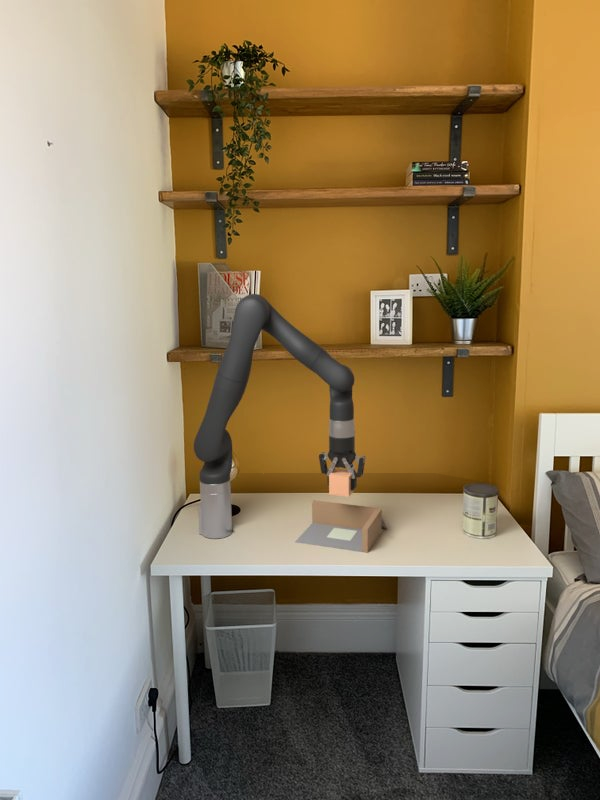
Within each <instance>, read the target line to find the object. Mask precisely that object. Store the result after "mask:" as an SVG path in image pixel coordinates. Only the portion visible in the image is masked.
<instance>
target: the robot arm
mask: <svg viewBox="0 0 600 800" xmlns="http://www.w3.org/2000/svg"><path fill="white" fill-rule="evenodd" d="M261 331H264V332H265V333H266V334H267V335H268V334H269V335H270V336H271V337H273V339H275V340H276V341H277V342H278V343H279V344H281V346H282V347H283V348H284V349H285V350H286V351H287V352H288V353H289V354H290V355H291V356H292V357H293V358H294V359H295V360H296V361H298V362H299V363H300V364H302V365H303V366H304V367H306V368H307V369H308V370H310V371H311V372H313V373H315V375H317V376H318V377H319V378H320V379H321V380H322V381H323V382H325V383H326V384H327V385H328V387H329V397H330V399H329V400H330V401H329V423H328V446H329V447H328V452H324V451H323V452H321V453H319V455H318V460H319V466H320V472H321V474H322V475H323V474H324V475H326V476H327V481H326V482H327V486H328V487H329V475H330V474H331V473H332V472H333V471H334V470H335V469H339V468H343V469H345V470H347V471H348V472H349V474H350V475H351V491H353V490H354V489H356V488H357V486H358V484H357V483H358V482H357V481H358V480H357V479H358V478H361V477H362V476H363V475H364V471H365V469H364V468H365V464H366V456H365V455H362V456H360V455H357V454H356V451H355V449H356V448H355V447H356V445H355V443H356V442H355V441H356V439H355V438H356V437H355V436H356V429H355V428H356V427H355V426H356V425H355V415H354V414H355V409H354V408H355V407H354V401H353V386H354V384H355V374H354V373H353V371H352V369H351V368H350V367H349V366H348V365H345V364H341V363H340V362H339V361H337V360H336V359H335V358H333V357H332V355H330V353H328V352H327V350H325V349H324V348H323V347H321V346H320V345H319V344H318V343H316V342H315V341H314V340H312V339H311V338H309V336H307V335H305V334H304V333H303V332H302V331H300V330H298V328H296V327H295V326H294V325H292V324H291V323H290V322H289V321H288V320H287V319H286V318H284V316H282V315H281V313H280V312H278V311H277V309H275V307H274V306H273V305H272V304H271V303H270V302H269V301H268V300H267V299H266V297H264V296H263V295H262V294H261V295H260V294H258V293H250V294H248V295H245V296H244V297H243V298H241V299H240V300H239V301H238V302H237V304H236V306H235V310H234V315H233V321H232V326H231V332H230V335H229V340H228V343H227V345H226V348H225V350H224V353H223V355H222V358H221V360H220V363H219V366H218V368H217V372H216V374H215V375H216V376H215V377H214V381H213V385H212V389H211V393H210V396H209V400H208V402H207V406H206V409H205V410H206V411H205V414H204V416H203V419H202V422H201V423H200V426H199V429H197V432H196V435H195V438H194V441H193V452H194V454H195V456H196V458H197V459H198V460H199V461H201V462H203V465H202V467H201V469H200V471H199V493H200V495H199V497H200V503H199V504H198V505H197V510H198V531H199V535H201V536H202V537H205V538H208V539H214V540H215V539H223V538H226V537H229V536H230V535H231V534H232V533H233V522H232V521H233V520H232V518H233V517H232V495H231V494H232V493H231V492H232V491H231V490H232V489H231V472H232V469H233V441H232V436H231V434H230V432H229V431H228V430H227V429H226V428H227V425H228V423H229V420H230V419H231V417H232V416H233V414H234V412H235V410H236V409H237V408H238V406H239V404H240V402H241V400H242V399H243V396H244V394H245V392H246V389H247V386H248V382H249V378H250V376H251V370H252V363H253V356H254V355H253V354H254V350H255V346H256V344H257V341H258V338H259V336H260V334H261ZM328 459H329V461H331V463H330V466H329V468H328V463H327V460H328ZM354 461H356V463H357V464H358V465H357V470H356V467H355V464H354ZM354 491H355V490H354ZM354 491H353V492H354Z"/></svg>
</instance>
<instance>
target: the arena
mask: <svg viewBox="0 0 600 800" xmlns="http://www.w3.org/2000/svg"><path fill="white" fill-rule="evenodd" d="M382 513H383V508H381V507H373V506H367V505H366V506H364V505H355V504H348V503H341V502H331V501H325V500H324V501H323V500H312V501H311V515H312V517H311V518H312V519H311V520H312V521H311V524H310V525H309V526H308V527H307V528H306V529H305V530H304V531H303V532H302V534H301V535H299V537H297V539H296V540H295V541H294V543H297V544H303V545H304V544H305V545H311V546H318V547H324V548H331V549H339V550H345V551H350V552H358V553H366V554H368V553H369V551H370V550H371V548H372V546H373V544H374V543H375V541H376V540H377V538H378V537H379V535H380V534H381V533H382V531H383V530H382V520H383V518H382V516H383V515H382Z"/></svg>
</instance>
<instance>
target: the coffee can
mask: <svg viewBox="0 0 600 800" xmlns="http://www.w3.org/2000/svg"><path fill="white" fill-rule="evenodd" d="M499 491H500V490H499V488H498V487H496V486H495V485H492V484H490V483H482V482H475V483H474V482H472V483H467V484H465V485H464V486H463V497H462V498H463V499H462V500H463V501H462V502H463V503H462V504H463V505H462V530H461V531H462V533H463V534H464V535H465V536H467V537H470V538H473V539H481V540H482V539H483V540H484V539H485V540H486V539H490V538H494V537H496V536H497V526H498V525H497V523H498V503H499V499H498V498H499Z"/></svg>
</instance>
